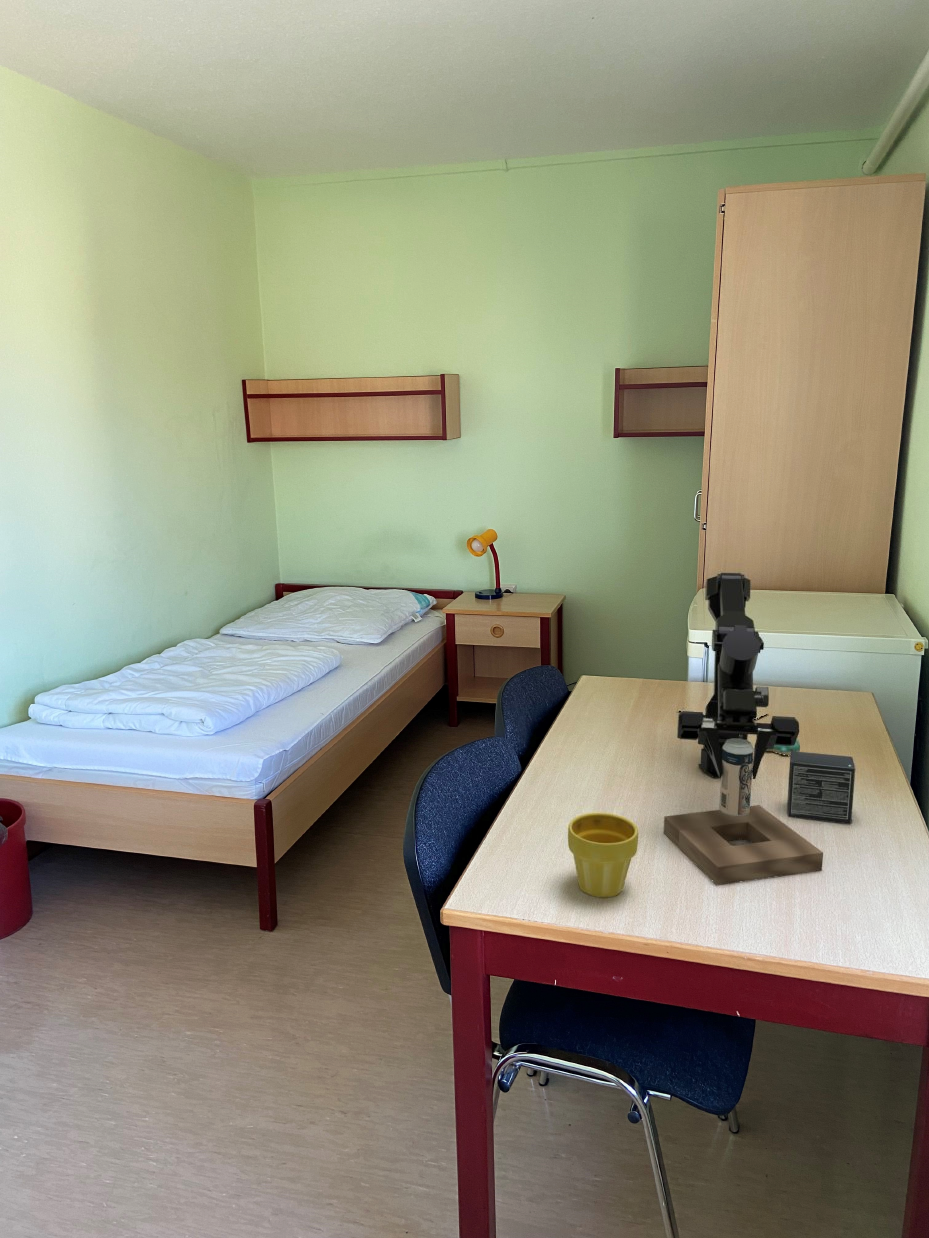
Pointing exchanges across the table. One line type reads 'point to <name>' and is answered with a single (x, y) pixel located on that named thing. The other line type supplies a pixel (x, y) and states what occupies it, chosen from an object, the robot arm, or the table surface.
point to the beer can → (736, 777)
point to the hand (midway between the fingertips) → (737, 777)
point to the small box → (821, 787)
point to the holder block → (763, 858)
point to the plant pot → (602, 851)
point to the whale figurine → (786, 748)
